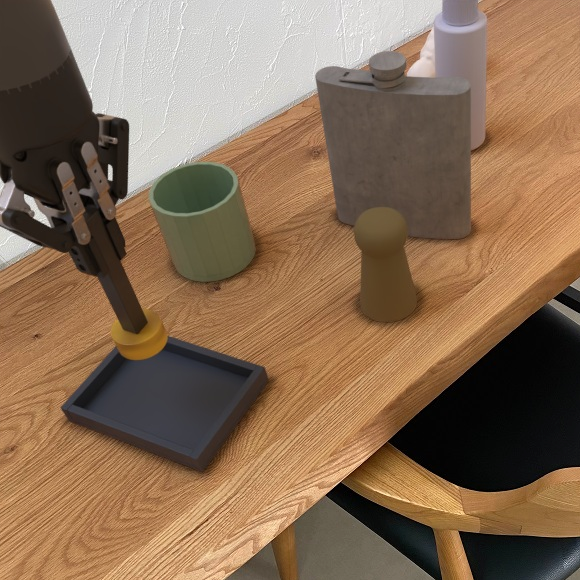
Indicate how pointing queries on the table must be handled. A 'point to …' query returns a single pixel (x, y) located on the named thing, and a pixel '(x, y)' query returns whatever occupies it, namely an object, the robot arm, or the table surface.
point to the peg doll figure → (384, 265)
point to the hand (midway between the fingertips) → (105, 264)
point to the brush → (125, 301)
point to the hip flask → (399, 145)
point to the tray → (169, 400)
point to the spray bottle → (464, 55)
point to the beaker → (203, 220)
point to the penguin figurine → (425, 60)
